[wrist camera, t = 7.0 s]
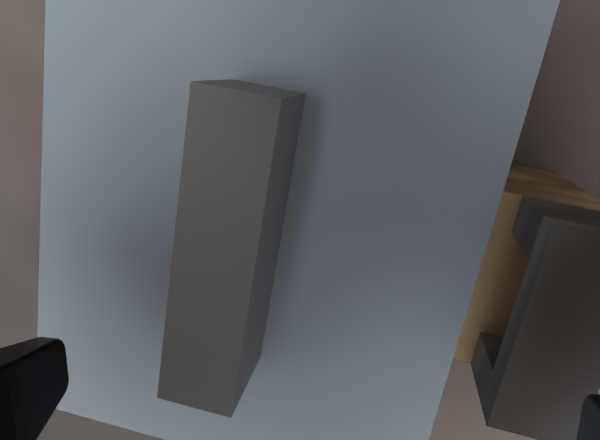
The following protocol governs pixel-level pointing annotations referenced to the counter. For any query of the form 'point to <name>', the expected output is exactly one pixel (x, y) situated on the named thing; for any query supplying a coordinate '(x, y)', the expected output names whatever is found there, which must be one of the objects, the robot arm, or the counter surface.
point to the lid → (273, 205)
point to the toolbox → (537, 308)
